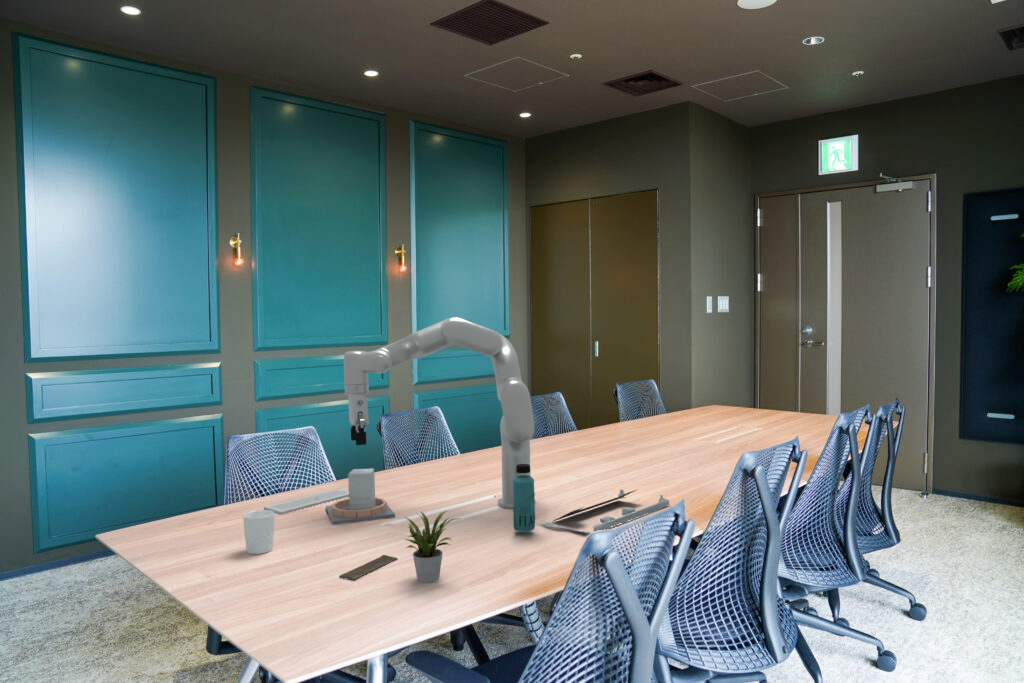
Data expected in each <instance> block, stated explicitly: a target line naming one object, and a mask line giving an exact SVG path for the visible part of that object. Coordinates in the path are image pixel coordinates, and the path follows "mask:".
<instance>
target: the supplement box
mask: <svg viewBox="0 0 1024 683" xmlns="http://www.w3.org/2000/svg"><path fill="white" fill-rule="evenodd" d="M347 480H348V481H347V484H348V490H349V497H348V499H349V510H364V509H371V508H374V507H375V506H376V505H375V497H376V484H375V483H376V482H375V468H354V469H352V470H350V472H348V473H347Z"/></svg>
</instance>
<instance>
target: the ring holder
mask: <svg viewBox="0 0 1024 683" xmlns="http://www.w3.org/2000/svg"><path fill="white" fill-rule="evenodd" d="M375 505H376V506H375V507H374V508H371V509H364V510H349V498H343V499H339V500H336V501H335V502H334V503H332V504H331V505H326V506H325V510H327V511H326V513H327V512H328V513H327V514H329V515H328V517H329V516H330V517H329V519H330V518H331V519H330V521H331V520H332V521H331V523H332V525H333V524H335V525H342V524H341V523H343V524H348V523H347V522H351V523H357V522H356V521H359V522H365V521H364V520H367V521H374V520H373V519H375V520H382V519H381V518H383V519H390V517H391V518H396V513H395V512H394V511H393V509H391V507H390V506H389V505H388V502H387V501H386V500H385V499H384V498H380V497H377V496H375Z"/></svg>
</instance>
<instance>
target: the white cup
mask: <svg viewBox="0 0 1024 683" xmlns="http://www.w3.org/2000/svg"><path fill="white" fill-rule="evenodd" d="M242 517H243V529H244V531H243V532H244V540H245V549H246V550H245V551H246V553H247V554H249V555H262V554H265V553H266V552H267V553H269V552H271V551H273V549H274V537H275V536H274V534H275V513H274V512H273V511H270V510H264V509H263V510H262V509H261V510H260V509H259V510H254V511H253V510H252V511H250V512H247V513H245V514H244V513H243V516H242Z"/></svg>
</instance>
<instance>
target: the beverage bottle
mask: <svg viewBox="0 0 1024 683" xmlns="http://www.w3.org/2000/svg"><path fill="white" fill-rule="evenodd" d="M516 472H517V473H529V472H530V473H531V464H530V465H529V464H518V465H517V466H516ZM535 495H536V492H535V479H534V477H532V476H531V475H530V476H529V475H518V476H516V477H515V478H514V479H513V508H512V512H513V513H512V514H513V516H512V520H513V521H512V522H513V523H512V524H513V525H512V526H513V530H514V531H516V532H521V533H522V532H523V533H527V532H531V531H534V530H535V528H536V507H535V506H536V505H534V502H535V500H536V498H535V497H536V496H535Z"/></svg>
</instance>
